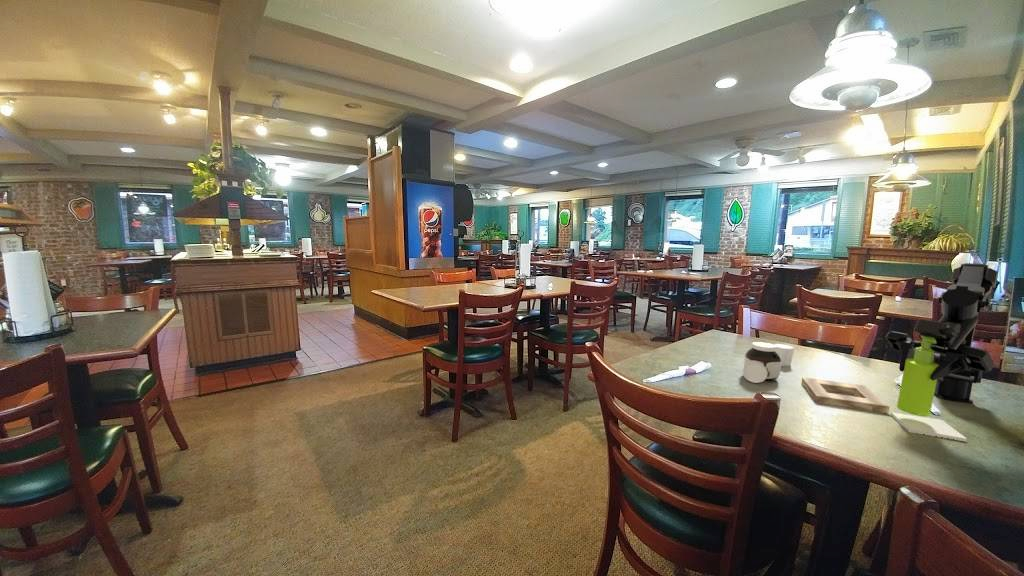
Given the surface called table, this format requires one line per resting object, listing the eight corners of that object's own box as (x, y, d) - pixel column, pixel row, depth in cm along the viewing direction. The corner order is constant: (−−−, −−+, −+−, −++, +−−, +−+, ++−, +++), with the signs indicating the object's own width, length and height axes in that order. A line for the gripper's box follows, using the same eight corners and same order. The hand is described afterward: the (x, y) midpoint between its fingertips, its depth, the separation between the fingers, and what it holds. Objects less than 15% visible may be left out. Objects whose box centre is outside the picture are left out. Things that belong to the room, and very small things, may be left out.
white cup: (797, 367, 140) (799, 348, 139) (778, 366, 140) (780, 348, 139) (784, 360, 146) (786, 343, 145) (766, 360, 147) (768, 343, 146)
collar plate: (864, 391, 118) (865, 385, 117) (888, 413, 103) (889, 406, 103) (801, 383, 124) (802, 377, 124) (815, 402, 110) (816, 395, 110)
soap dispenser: (899, 412, 97) (914, 337, 93) (895, 403, 102) (908, 331, 99) (933, 420, 93) (949, 342, 90) (926, 409, 98) (942, 335, 95)
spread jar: (773, 375, 131) (776, 342, 130) (787, 387, 121) (791, 352, 119) (734, 371, 135) (737, 340, 133) (744, 383, 124) (748, 349, 122)
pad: (941, 422, 98) (941, 419, 98) (966, 441, 89) (966, 438, 89) (890, 414, 102) (890, 412, 102) (909, 432, 93) (909, 429, 93)
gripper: (894, 302, 104) (860, 344, 102) (995, 316, 86) (955, 367, 85) (910, 328, 107) (877, 369, 106) (1010, 347, 89) (972, 396, 88)
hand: (915, 374), depth 96 cm, fingers closed on soap dispenser, 6 cm apart
